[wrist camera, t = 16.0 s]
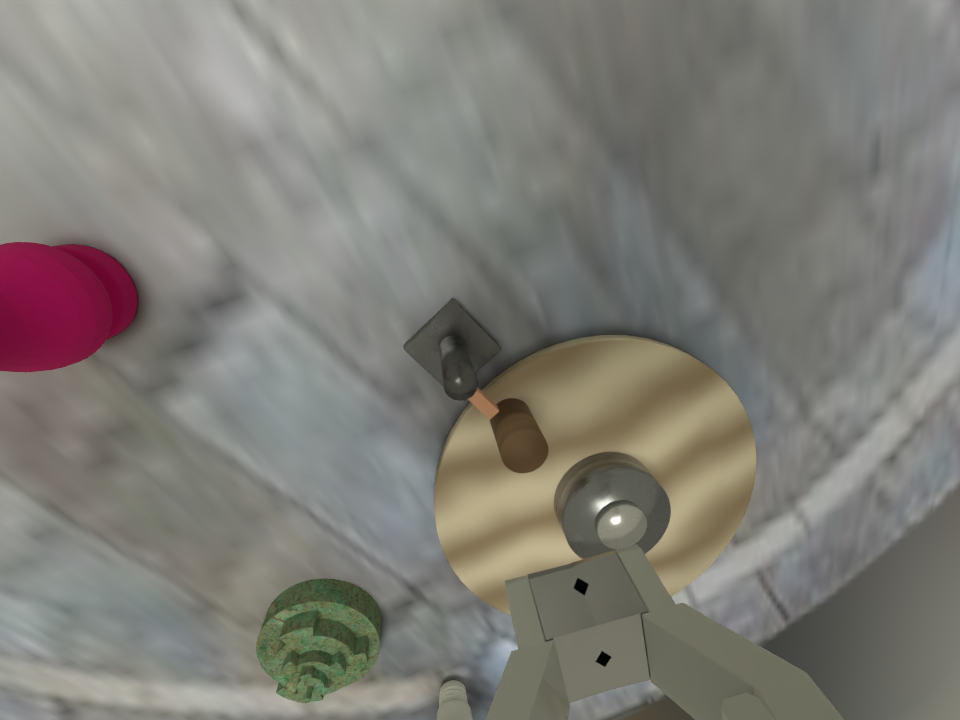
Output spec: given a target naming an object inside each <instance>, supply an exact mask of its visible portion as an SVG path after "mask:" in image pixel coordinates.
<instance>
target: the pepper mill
mask: <svg viewBox="0 0 960 720" xmlns="http://www.w3.org/2000/svg"><path fill="white" fill-rule="evenodd" d="M136 310H137V293H136V290H135V286H134V284H133V282H132V280H131V278H130V276H129V275H128V273H127V272H126V271H125V269H124V268H123V267H122V266H121V265H120V264H119V263H118V262H117V261H115V260H114V259H113V258H112V257H110V256H109V255H107V254H105V253H103V252H101V251H99V250H97V249H95V248H92V247H88V246H84V245H76V244H70V245H60V246H53V247H50V246H47V245H44V244H38V243H29V242H14V243H6V244H2V245H0V371H11V372H35V371H45V370H53V369H57V368H62V367H65V366H68V365H71V364H74V363H77V362H79V361H81V360H83V359H86V358H88V357H89V356H90V355H92V354H93V353H94V352H96V351H97V350H98V349H99V348H100V347H101V346H102V344H103V343H104V342H105V340H106V339H109V338H111V337H113V336H115V335H117V334H119V333H121V332H122V331H123V330H125V329H126V328H127V327H128V326H129V325H130V323H131V322H132V321H133V319H134V317H135V314H136Z"/></svg>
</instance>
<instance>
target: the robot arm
mask: <svg viewBox="0 0 960 720" xmlns="http://www.w3.org/2000/svg"><path fill="white" fill-rule="evenodd" d="M527 575H528V577H527ZM527 575H525V576H521V577H517V578H513V579H509V580H505V590H506V595H507V599H508V604H509V608H510V613H511V617H512V622H513V627H514V631H515V636H516V640H517V645H518V650H515V651H512V652H511V654H510V657H509V660H508V662H507V665H506V667H505V670H504V673H503V675H502V678H501V681H500V683H499V686H498V688H497V691H496V694H495V696H494V699H493V701H492V704H491V707H490V709H489V712H488V714H487V717H486V720H567V719H568V714H569V709H570V704H569V703H571V702H574V701H577V700H580V699H584V698H587V697H590V696H593V695H596V694H599V693H602V692H605V691H608V690H612V689H616V688H620V687H624V686H627V685H631V684H635V683H639V682H643V681H647V680H651V682H652V683H653V684H654V685H656V686H657V687H658V688H659V689H660V690H661V691H663V692H664V693H665V694H666V695H667V696H668V697H670V698H671V699H672V700H673V701H674V702H675V703H677V704H678V705H679V706H680V707H681V708H682V709H684V710H685V711H686V712H687V713H688V714H690V716H692V717H693V718H694V719H695V720H843V718H842V717H841V716H840V714H839V713H838V712H837V711H836V709H835V708H834V707H833V706H832V704H831V703H830V702H829V701H828V699H827V698H826V697H825V696H824V694H823V693H822V692H821V690H820V689H819V688H818V687H817V685H816V684H815V683H814V682H813V680H812V679H811V678H810V677H809V675H808V674H807V673H805V672H804V671H802V670H800V669H798V668H796V667H795V666H793V665H792V664H790V663H788V662H786V661H784V660H783V659H781V658H779V657H777V656H775V655H774V654H772V653H770V652H769V651H767V650H765V649H763V648H762V647H760V646H758V645H756V644H754V643H753V642H751V641H749V640H747V639H746V638H744V637H742V636H740V635H739V634H737V633H735V632H733V631H732V630H730V629H728V628H726V627H725V626H723V625H721V624H719V623H717V622H716V621H714V620H712V619H710V618H709V617H707V616H705V615H703V614H702V613H700V612H698V611H696V610H695V609H693V608H691V607H689V606H687V605H686V604H684V603H680V604H675V603H674V601H673V599H672V598H671V596H670V595H669V593H668V591H667V590H666V588H665V586H664V585H663V583H662V582H661V580H660V578H659V577H658V575H657V574H656V572H655V570H654V569H653V567H652V565H651V564H650V562H649V561H648V559H647V557H646V556H645V554H644V553H643V551H642V549H641V548H640V547H639V546H638V545H637V544H635V545H631V546H628V547H624V548H621V549H617V550H614V551H610V552H607V553H603V554H600V555H596V556H593V557H590V558H586V559H583V560H579V561H576V562H573V563H570V564H567V565H563V566H559V567H555V568H551V569H547V570H543V571H539V572H535V573H531V574H527Z"/></svg>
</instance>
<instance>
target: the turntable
mask: <svg viewBox="0 0 960 720" xmlns="http://www.w3.org/2000/svg"><path fill="white" fill-rule="evenodd" d="M481 391H482V392H483V393H484V394H485V395H486V396H488V397H489V398H490V399H491V400H492V401H493V402H494V403H495V404H496V405H497V406H498V409H499V412H498V413H497V414H496V415H495V416H494V417H492V418H491V419H490V420H489V419H488V418H487V417H486V416H485V415H484V414H483V413H482V412H481V411H480V410H479V409H478V408H477V407H475V406H474V405H473V404H472V403H471V402H470V403H469V404H468V406H467V407H466V408H465V409H464V410H463V412H462V414H461V415H460V417H459V418H458V420H457V421H456V423H455V424H454V426H453V427H452V429H451V431H450V434H449V436H448V438H447V440H446V442H445V444H444V446H443V449H442V452H441V456H440V459H439V462H438V465H437V471H436V477H435V484H434V510H435V521H436V527H437V533H438V537H439V540H440V543H441V546H442V549H443V552H444V554H445V556H446V558H447V560H448V562H449V564H450V566H451V568H452V569H453V570H454V572H455V573H456V574H457V576H458V577H459V578H460V580H461V581H462V582H463V583H464V584H465V585H466V586H467V587H468V588H469V589H470V590H471V591H472V592H473V593H474V594H475V595H476V596H478V597H479V598H480V599H482V600H483V601H484V602H486V603H487V604H489V605H491V606H492V607H494V608H496V609H498V610H500V611H501V612H503V613H506V614H508V615H511V613H510V608H509V604H508V599H507V595H506V590H505V580H509V579H513V578H517V577H521V576H525V575H527V574H531V573H535V572H539V571H543V570H547V569H551V568H555V567H559V566H563V565H567V564H570V563H573V562H576V561H579V560H583V559H582V558H580V557H579V556H578V555H576V554H575V553H574V552H573V550H572V549H571V548H570V546H569V544H568V542H567V540H566V537H565V535H564V533H563V530H562V528H561V526H560V524H559V521H558V519H557V516H556V514H555V510H554V495H555V491H556V488H557V486H558V484H559V482H560V480H561V478H562V477H563V476H564V474H565V473H566V472H567V471H568V470H569V469H570V468H571V467H572V466H573V465H575V464H576V463H577V462H579V461H580V460H582V459H584V458H586V457H588V456H591V455H594V454H598V453H603V452H620V453H624V454H627V455H630V456H632V457H634V458H636V459H637V460H639V461H640V462H641V463H642V464H643V465H644V466H645V467H646V469H647V470H648V471H649V472H650V473H651V475H652V476H653V477H654V478H655V479H656V480H657V482H658V483H659V484H660V485H661V486H662V488H663V489H664V490H665V492H666V493H667V496H668V498H669V501H670V506H671V516H670V521H669V524H668V527H667V529H666V531H665V533H664V535H663V536H662V538H661V539H660V541H659V542H658V543H657V544H656V545H655V546H654V547H653V548H652V549H651V550H650V551H648V552H647V553H646V554H645V556H646V557H647V559H648V561H649V562H650V564H651V565H652V567H653V569H654V570H655V572H656V574H657V575H658V577H659V578H660V580H661V582H662V583H663V585H664V586H665V588H666V590H667V591H668V593H669V595H670V596H673V595H674V594H676V593H678V592H679V591H681V590H682V589H683V588H685V587H686V586H687V585H689V584H690V583H691V582H692V581H694V580H695V579H696V578H697V577H699V576H700V575H701V574H702V573H703V572H704V571H705V570H706V569H707V568H708V567H709V566H710V565H711V564H712V563H713V562H714V561H715V559H716V558H717V557H718V556H719V555H720V554H721V552H722V551H723V550H724V549H725V547H726V546H727V544H728V543H729V541H730V540H731V538H732V537H733V535H734V534H735V532H736V530H737V528H738V526H739V525H740V523H741V521H742V519H743V517H744V514H745V512H746V509H747V506H748V504H749V501H750V498H751V494H752V490H753V486H754V480H755V471H756V447H755V441H754V436H753V431H752V427H751V424H750V422H749V419H748V416H747V413H746V411H745V409H744V407H743V406H742V404H741V402H740V400H739V398H738V397H737V395H736V394H735V393H734V392H733V390H732V389H731V388H730V387H729V385H728V384H727V383H726V382H725V381H724V380H723V379H722V378H721V377H720V376H719V375H718V374H717V373H715V372H714V371H713V370H712V369H711V368H709V367H708V366H706V365H705V364H703V363H702V362H700V361H699V360H697V359H695V358H694V357H692V356H690V355H689V354H687V353H685V352H684V351H681V350H679V349H677V348H675V347H672V346H670V345H668V344H666V343H662V342H659V341H655V340H651V339H648V338H643V337H635V336H628V335H598V336H591V337H583V338H577V339H573V340H570V341H566V342H562V343H558V344H555V345H553V346H550V347H548V348H545V349H543V350H540V351H537V352H535V353H533V354H531V355H529V356H528V357H526V358H524V359H522V360H520V361H518V362H517V363H515V364H513V365H512V366H510V367H509V368H508V369H506V370H505V371H503V372H502V373H501V374H499V375H498V376H496V377H495V378H494V379H493V380H492V381H491V382H490V383H489V384H487V385H486V386H485V387H484V388H483V389H482V390H481ZM527 577H528V575H527Z"/></svg>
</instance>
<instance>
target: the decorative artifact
mask: <svg viewBox="0 0 960 720" xmlns="http://www.w3.org/2000/svg"><path fill="white" fill-rule="evenodd" d="M381 625H382V617H381V612H380V609H379V607H378V605H377V603H376V602H375V600H374V599H373V598H372V597H371V596H370V595H369V594H368V593H367V592H366V591H364V590H363V589H361V588H360V587H358V586H356V585H354V584H351V583H348V582H345V581H341V580H335V579H315V580H309V581H305V582H302V583H299V584H296V585H294V586H292V587H290V588H288V589H287V590H285V591H284V592H282V593H281V594H280V595H279V596H278V597H277V598H276V599H275V600H274V601H273V602H272V604H271V605H270V607H269V609H268V612H267V614H266V617H265V620H264V623H263V625H262V628H261V631H260V634H259V636H258V640H257V646H256V651H257V657H258V660H259V662H260V664H261V666H262V668H263V669H264V670H265V672H266V673H267V674H268V675H269V676H270V677H272V678H273V679H274V680H276V681H277V682H279V684H278V688H277V691H276V693H277V694H279V695H281V696H282V697H284V698H287V699H289V700H292V701H296V702H301V703H307V702H310V701H320V700H323V697H324V696H325V695H326V694H328V693H331V692H334V691H336V690H338V689H340V688H342V687H345V686H347V685H349V684H351V683H353V682H355V681H357V680H358V679H360V678H361V677H362V678H364V675H365V674H366V673H367V672H368V671H369V670H370V669H371V667H372V666H373V665H374V663H375V661H376V659H377V657H378V654H379V648H380V636H381Z"/></svg>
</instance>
